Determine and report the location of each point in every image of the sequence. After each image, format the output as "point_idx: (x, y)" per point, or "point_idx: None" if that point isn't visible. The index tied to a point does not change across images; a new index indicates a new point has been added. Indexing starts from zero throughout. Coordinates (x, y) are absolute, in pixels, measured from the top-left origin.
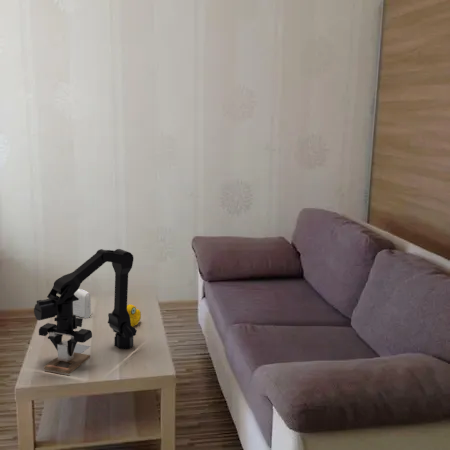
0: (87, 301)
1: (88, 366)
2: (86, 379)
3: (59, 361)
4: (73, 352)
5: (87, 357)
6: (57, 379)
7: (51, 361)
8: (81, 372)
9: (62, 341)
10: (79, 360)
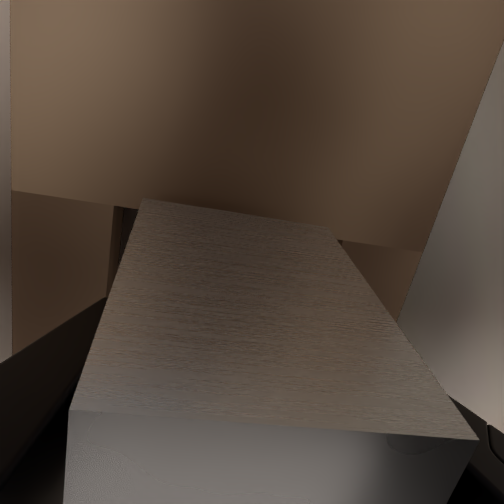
0: None
1: (482, 175)
2: (495, 421)
3: (111, 248)
4: (355, 273)
5: (495, 48)
6: None
7: (15, 311)
8: (427, 321)
9: (78, 493)
10: (398, 197)
